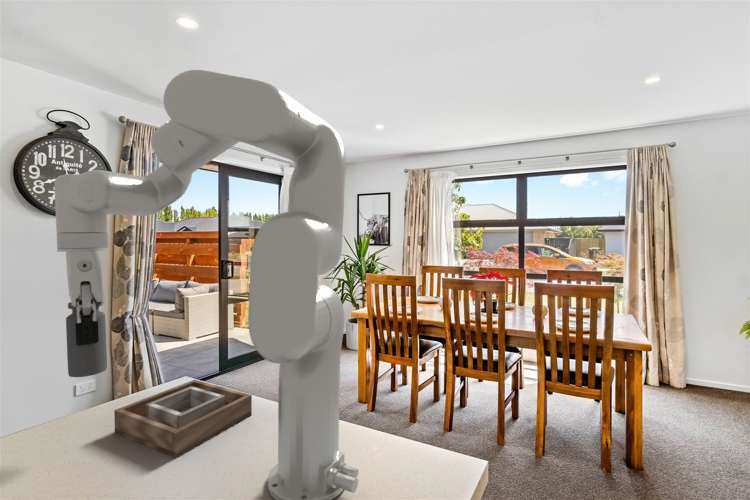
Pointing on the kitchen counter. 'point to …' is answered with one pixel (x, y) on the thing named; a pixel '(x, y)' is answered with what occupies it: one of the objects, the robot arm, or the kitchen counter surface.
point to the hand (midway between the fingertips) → (87, 339)
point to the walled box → (182, 416)
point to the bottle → (86, 346)
